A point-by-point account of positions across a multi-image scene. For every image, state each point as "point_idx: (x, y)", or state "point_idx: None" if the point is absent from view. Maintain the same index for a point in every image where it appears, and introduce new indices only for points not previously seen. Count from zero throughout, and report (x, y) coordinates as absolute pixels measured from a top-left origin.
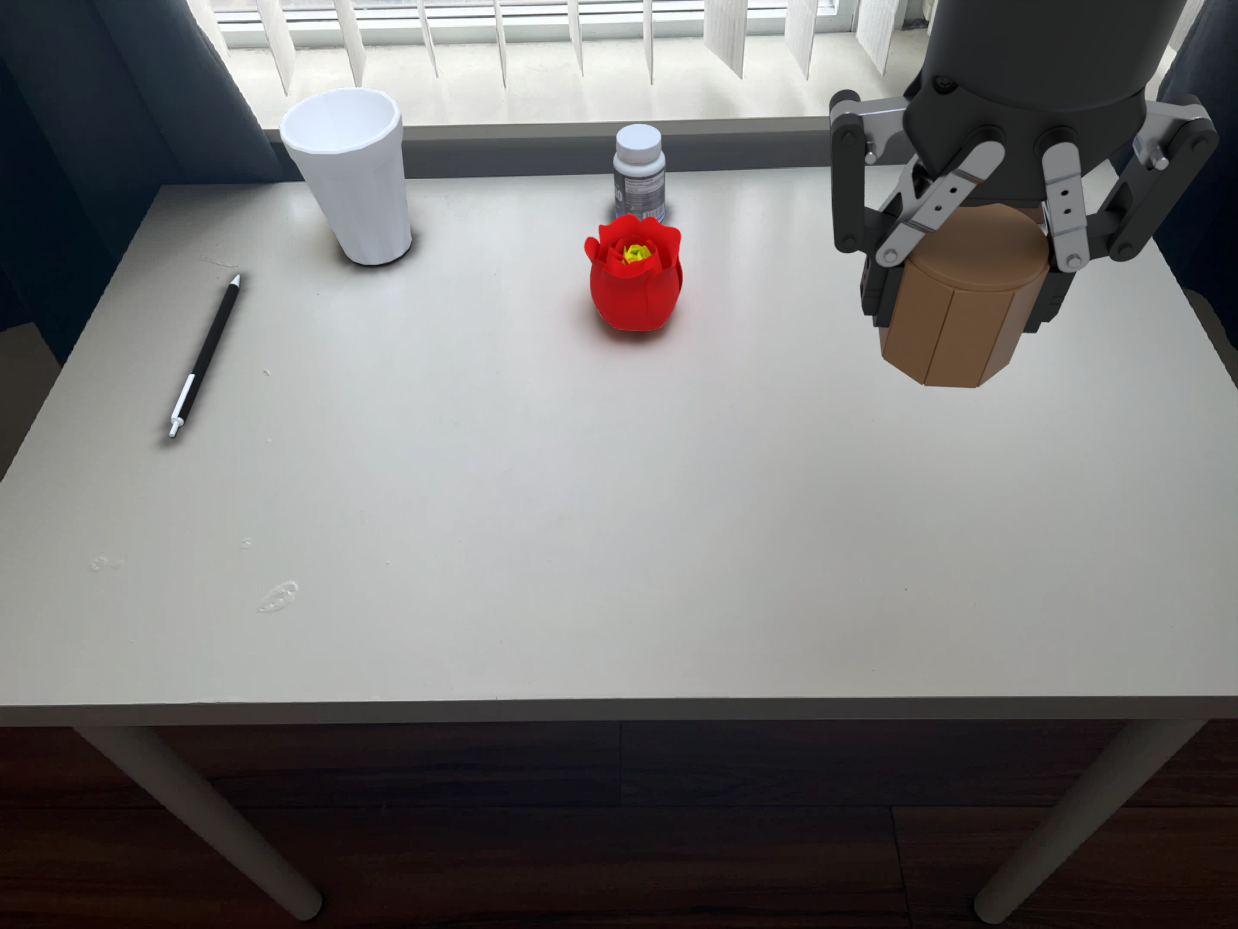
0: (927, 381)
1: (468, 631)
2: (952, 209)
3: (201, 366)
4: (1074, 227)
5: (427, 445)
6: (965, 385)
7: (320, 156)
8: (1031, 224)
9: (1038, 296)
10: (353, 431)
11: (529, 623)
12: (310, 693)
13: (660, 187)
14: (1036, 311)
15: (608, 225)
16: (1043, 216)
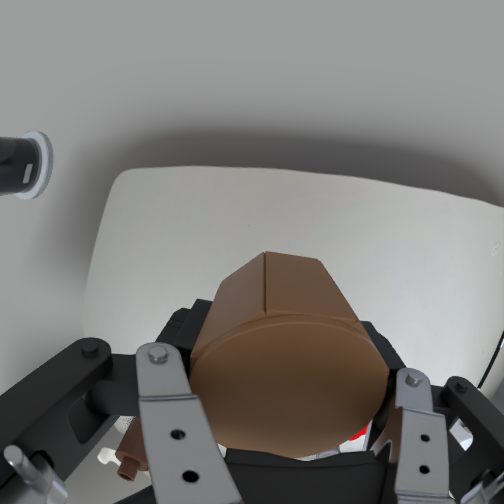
0: (317, 260)
1: (448, 223)
2: (405, 440)
3: (497, 351)
4: (161, 400)
5: (447, 321)
6: (277, 253)
7: (468, 437)
8: None
9: (200, 326)
10: (467, 327)
11: (428, 224)
12: (489, 205)
13: (320, 453)
14: (200, 314)
15: (362, 434)
16: (140, 419)
